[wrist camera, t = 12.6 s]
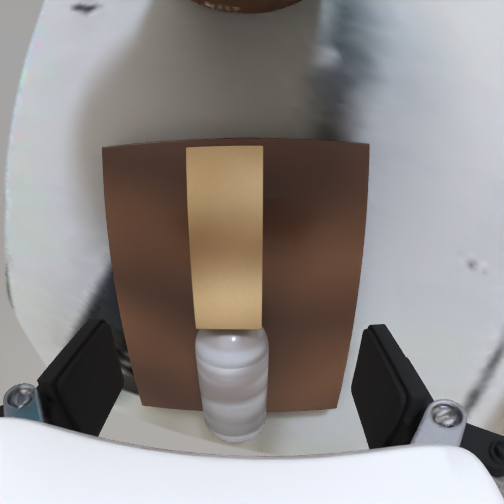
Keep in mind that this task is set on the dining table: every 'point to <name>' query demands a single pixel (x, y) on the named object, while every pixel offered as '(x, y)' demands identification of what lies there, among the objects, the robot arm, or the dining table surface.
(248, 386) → the wood and marble capsule
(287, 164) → the chopping board
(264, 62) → the dining table surface
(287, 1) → the pitcher
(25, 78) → the dining table surface
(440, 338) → the dining table surface
